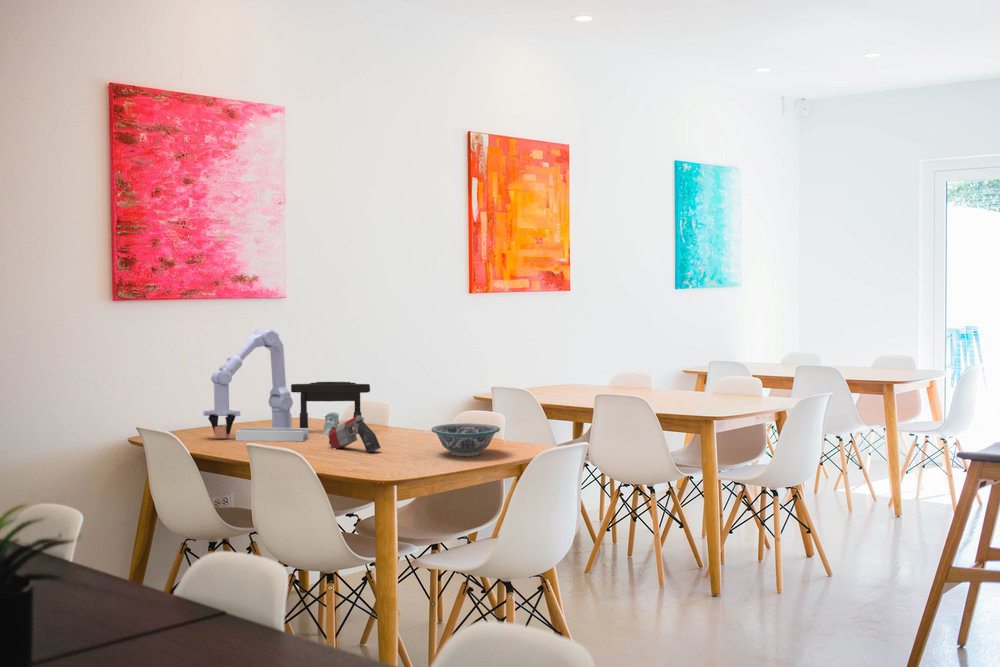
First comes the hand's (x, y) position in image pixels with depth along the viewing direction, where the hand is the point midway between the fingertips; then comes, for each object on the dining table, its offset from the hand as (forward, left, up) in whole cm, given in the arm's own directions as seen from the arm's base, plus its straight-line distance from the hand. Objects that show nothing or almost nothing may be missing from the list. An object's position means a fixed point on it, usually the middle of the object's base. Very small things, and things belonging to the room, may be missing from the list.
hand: (222, 433), depth 387 cm
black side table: (-20, +39, -2) cm, 44 cm away
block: (0, +2, +1) cm, 2 cm away
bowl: (+27, +101, -2) cm, 105 cm away
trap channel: (0, +20, -2) cm, 20 cm away
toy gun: (+21, +58, -2) cm, 62 cm away
